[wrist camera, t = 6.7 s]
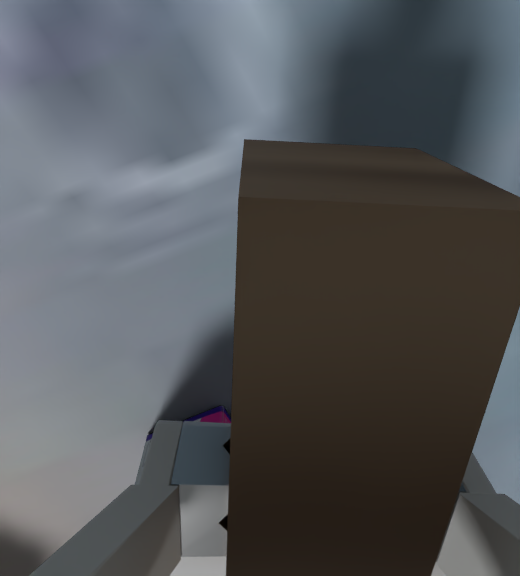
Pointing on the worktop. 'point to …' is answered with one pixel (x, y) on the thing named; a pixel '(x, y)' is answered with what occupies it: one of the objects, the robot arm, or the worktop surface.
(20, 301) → the worktop surface
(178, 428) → the robot arm
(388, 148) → the paddle
